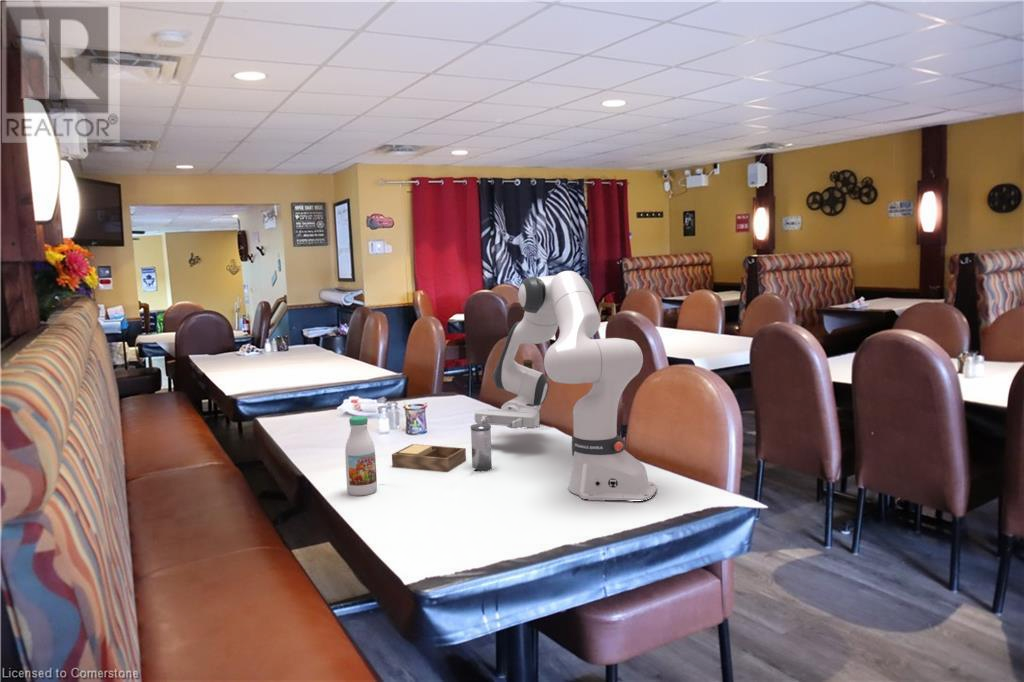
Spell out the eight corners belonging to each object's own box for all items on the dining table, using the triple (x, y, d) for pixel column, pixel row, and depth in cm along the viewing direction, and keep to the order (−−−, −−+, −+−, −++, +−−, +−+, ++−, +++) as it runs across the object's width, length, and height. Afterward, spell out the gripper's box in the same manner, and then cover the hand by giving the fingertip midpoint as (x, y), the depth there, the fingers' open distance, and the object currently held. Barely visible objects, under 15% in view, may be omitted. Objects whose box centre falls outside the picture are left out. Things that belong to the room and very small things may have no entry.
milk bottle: (341, 494, 187) (336, 419, 185) (360, 485, 194) (356, 413, 191) (364, 498, 183) (360, 421, 181) (383, 489, 190) (379, 415, 188)
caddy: (466, 463, 212) (465, 448, 212) (447, 474, 201) (447, 459, 201) (413, 458, 219) (412, 444, 218) (392, 469, 208) (391, 454, 207)
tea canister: (495, 466, 208) (493, 424, 206) (487, 472, 202) (485, 429, 201) (477, 465, 210) (475, 423, 208) (468, 470, 204) (467, 427, 203)
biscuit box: (432, 459, 215) (431, 446, 214) (417, 467, 206) (416, 453, 206) (414, 457, 217) (414, 444, 217) (399, 465, 209) (398, 452, 208)
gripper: (484, 402, 233) (465, 411, 220) (543, 406, 225) (527, 415, 212) (484, 421, 233) (466, 431, 221) (543, 425, 226) (528, 436, 213)
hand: (497, 423), depth 216 cm, fingers open, 8 cm apart
